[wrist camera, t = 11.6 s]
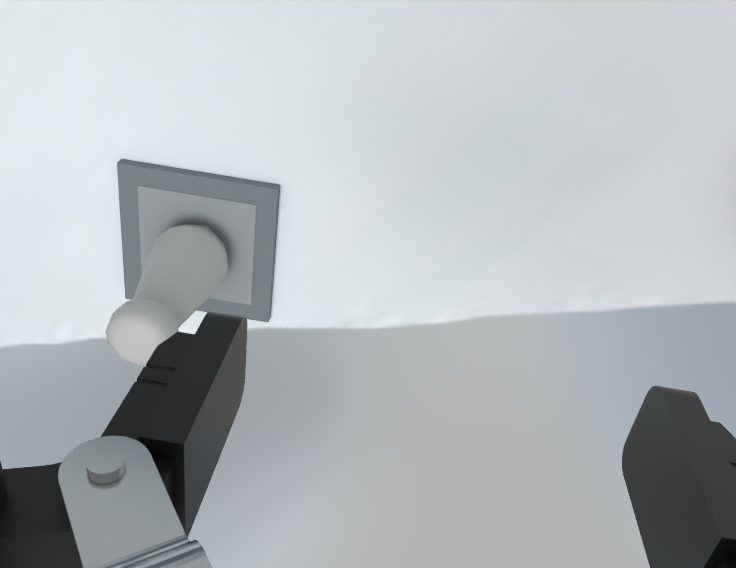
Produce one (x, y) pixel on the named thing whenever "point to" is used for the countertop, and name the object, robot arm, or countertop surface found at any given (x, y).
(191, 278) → the grey rounded lobed piece
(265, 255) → the coaster
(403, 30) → the countertop surface
